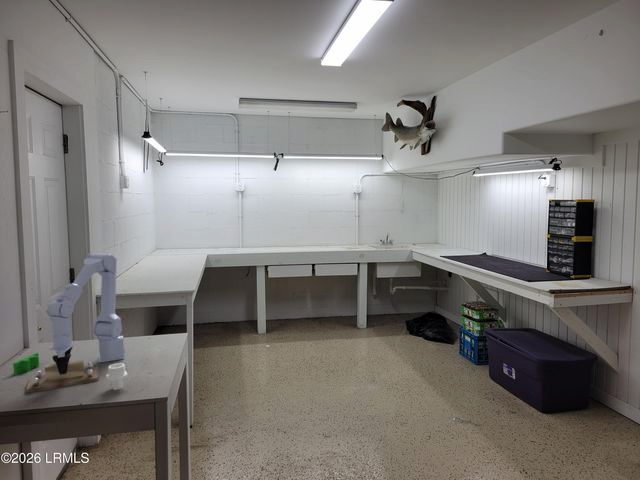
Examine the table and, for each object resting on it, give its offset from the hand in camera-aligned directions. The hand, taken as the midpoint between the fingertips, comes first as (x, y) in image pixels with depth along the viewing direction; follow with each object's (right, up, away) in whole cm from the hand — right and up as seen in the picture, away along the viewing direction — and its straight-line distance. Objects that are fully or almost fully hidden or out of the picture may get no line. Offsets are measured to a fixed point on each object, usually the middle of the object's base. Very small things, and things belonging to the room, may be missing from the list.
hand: (64, 370), depth 158 cm
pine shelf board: (0, -3, 0) cm, 3 cm away
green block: (-20, -3, +12) cm, 24 cm away
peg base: (0, -4, 0) cm, 4 cm away
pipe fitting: (+22, -5, -6) cm, 24 cm away
